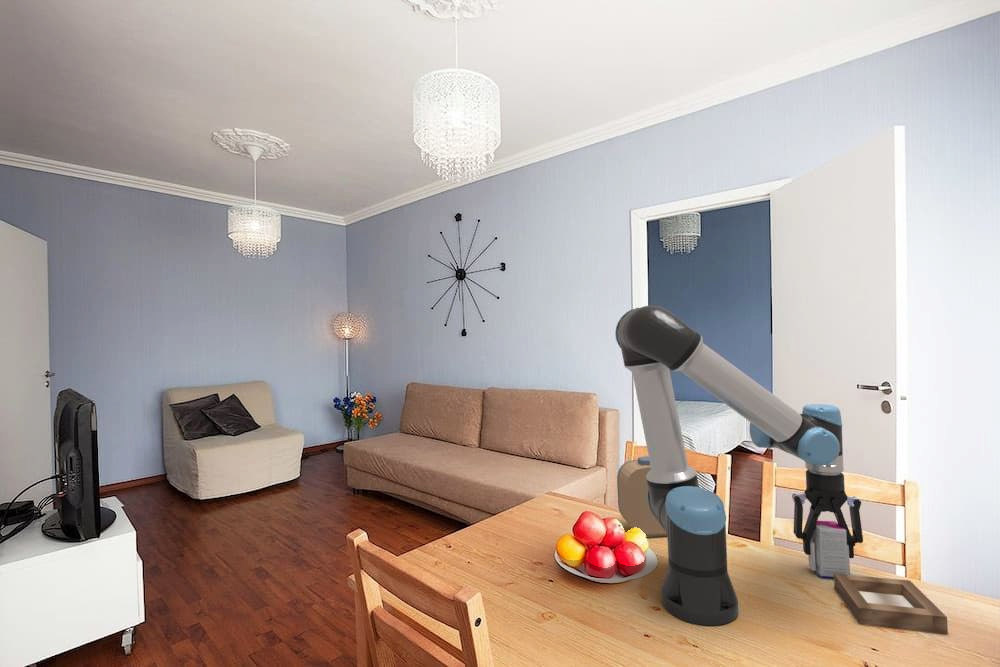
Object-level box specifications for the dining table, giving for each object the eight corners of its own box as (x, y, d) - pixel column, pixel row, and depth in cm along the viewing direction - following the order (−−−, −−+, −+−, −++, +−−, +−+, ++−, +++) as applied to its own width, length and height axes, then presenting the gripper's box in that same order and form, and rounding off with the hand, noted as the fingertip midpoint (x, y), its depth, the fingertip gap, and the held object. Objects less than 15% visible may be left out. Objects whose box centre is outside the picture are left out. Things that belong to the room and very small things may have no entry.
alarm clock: (685, 522, 149) (682, 451, 149) (699, 535, 139) (696, 459, 140) (618, 527, 148) (615, 455, 148) (628, 540, 138) (625, 463, 138)
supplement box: (849, 580, 112) (847, 529, 112) (820, 578, 113) (818, 528, 113) (837, 568, 117) (835, 520, 117) (809, 567, 119) (807, 519, 119)
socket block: (859, 624, 95) (858, 607, 95) (834, 587, 109) (833, 573, 109) (947, 634, 91) (947, 617, 91) (910, 595, 104) (909, 580, 105)
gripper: (782, 473, 115) (786, 572, 114) (879, 477, 109) (884, 581, 109) (775, 465, 122) (779, 558, 122) (865, 468, 116) (870, 566, 116)
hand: (828, 569), depth 115 cm, fingers closed on supplement box, 6 cm apart
